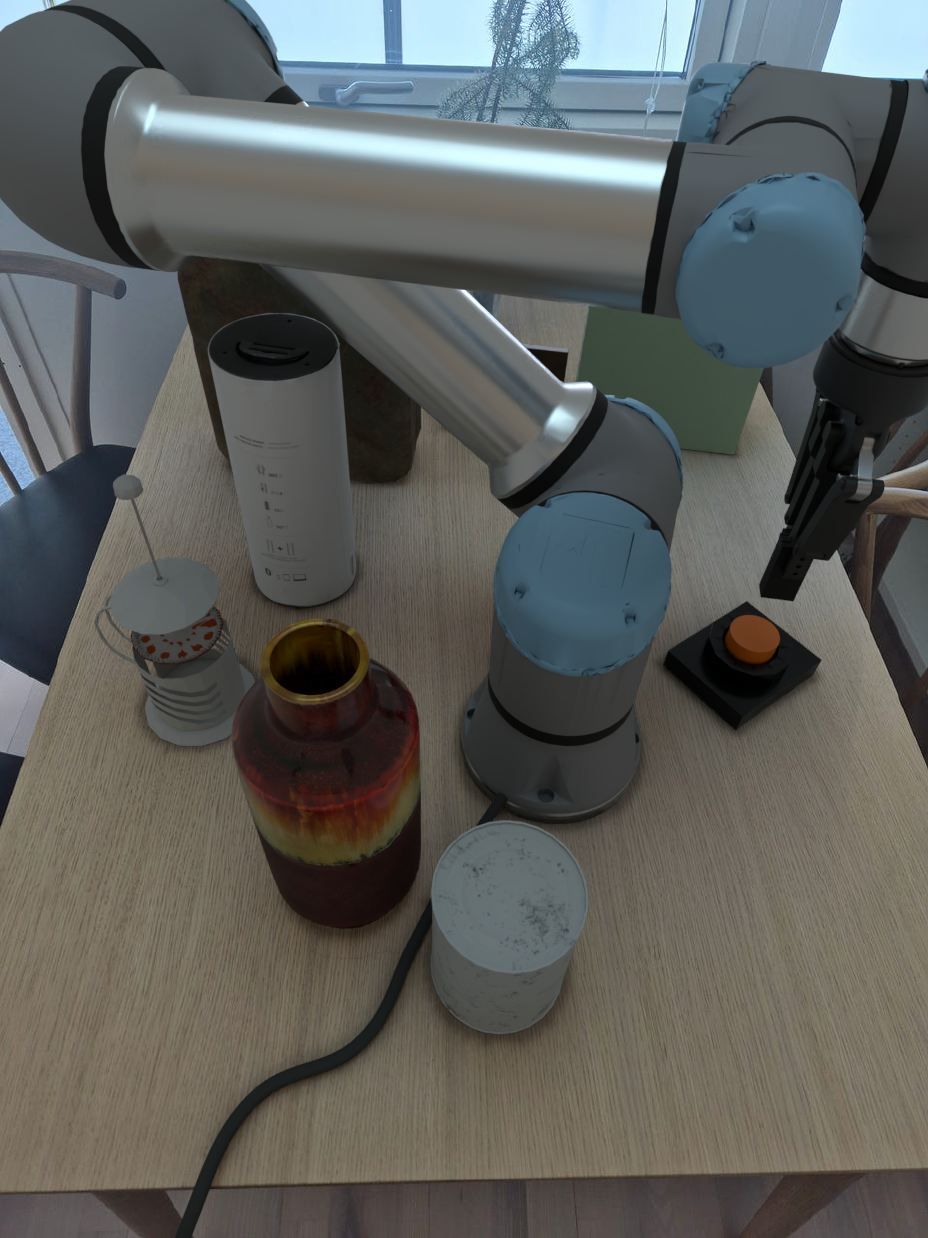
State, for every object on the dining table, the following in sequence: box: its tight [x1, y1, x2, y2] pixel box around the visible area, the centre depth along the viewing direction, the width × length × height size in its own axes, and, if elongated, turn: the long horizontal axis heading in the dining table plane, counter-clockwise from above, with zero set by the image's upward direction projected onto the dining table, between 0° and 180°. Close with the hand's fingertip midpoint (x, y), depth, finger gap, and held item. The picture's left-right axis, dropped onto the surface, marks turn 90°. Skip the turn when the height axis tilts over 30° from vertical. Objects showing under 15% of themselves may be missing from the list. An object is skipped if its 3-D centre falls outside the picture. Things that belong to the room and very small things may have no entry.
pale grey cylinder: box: [430, 819, 589, 1036], centre depth 54 cm, size 10×10×12 cm
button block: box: [662, 600, 823, 731], centre depth 76 cm, size 11×9×4 cm
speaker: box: [208, 313, 357, 608], centre depth 74 cm, size 11×10×26 cm
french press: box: [94, 473, 256, 747], centre depth 64 cm, size 10×12×25 cm
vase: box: [230, 618, 422, 930], centre depth 53 cm, size 11×11×26 cm
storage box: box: [575, 306, 765, 456], centre depth 96 cm, size 20×9×20 cm, turn 81°
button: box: [725, 615, 780, 664], centre depth 74 cm, size 4×4×2 cm
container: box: [176, 256, 422, 484], centre depth 86 cm, size 23×10×30 cm, turn 85°
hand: (776, 592), depth 70 cm, fingers closed
